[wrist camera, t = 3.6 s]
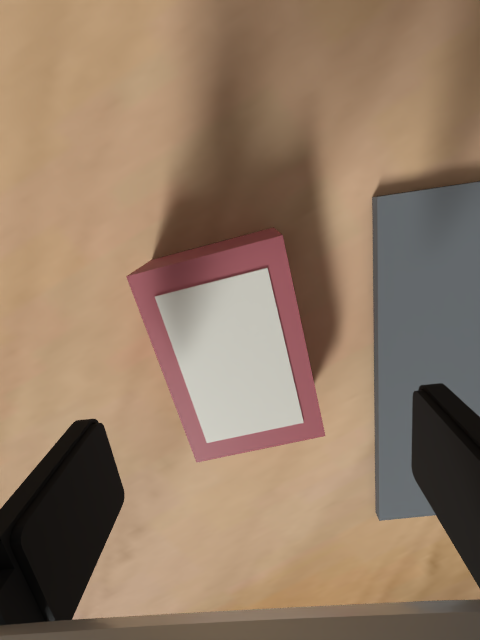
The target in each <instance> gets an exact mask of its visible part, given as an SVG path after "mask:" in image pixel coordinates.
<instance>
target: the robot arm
mask: <svg viewBox="0 0 480 640" xmlns="http://www.w3.org/2000/svg"><path fill="white" fill-rule="evenodd" d="M411 467H412V473H413V476H414V479H415V481H416V482H417V484H418V486H419V487H420V489H421V491H422V492H423V494H424V496H425V497H426V499H427V501H428V502H429V504H430V506H431V507H432V509H433V511H434V513H435V514H436V516H437V518H438V519H439V521H440V523H441V524H442V526H443V528H444V529H445V531H446V533H447V534H448V536H449V538H450V539H451V541H452V543H453V544H454V546H455V548H456V549H457V551H458V553H459V554H460V556H461V558H462V559H463V561H464V563H465V564H466V566H467V568H468V570H469V571H470V573H471V575H472V576H473V578H474V580H475V581H476V583H477V585H478V586H479V588H480V417H479V416H478V415H477V414H476V413H475V412H474V411H473V410H472V409H471V408H469V407H468V406H467V405H466V404H465V403H464V402H463V401H462V400H461V399H460V398H459V397H457V396H456V395H455V394H454V393H453V392H452V391H451V390H450V389H449V388H448V387H447V386H445V385H444V384H443V383H437V384H428V385H421V386H419V389H418V391H414V392H413V403H412V460H411ZM123 502H124V489H123V486H122V483H121V479H120V476H119V473H118V470H117V467H116V463H115V460H114V457H113V454H112V450H111V447H110V444H109V441H108V438H107V434H106V431H105V428H104V425H103V424H102V423H99V422H98V421H97V420H96V419H87V420H78V421H75V422H74V423H73V424H72V425H71V426H70V427H69V428H68V430H67V431H66V432H65V433H64V434H63V436H62V437H61V438H60V439H59V440H58V441H57V443H56V444H55V445H54V446H53V447H52V449H51V450H50V451H49V452H48V453H47V455H46V456H45V457H44V458H43V459H42V460H41V462H40V463H39V464H38V465H37V466H36V468H35V469H34V470H33V471H32V472H31V473H30V475H29V476H28V477H27V478H26V479H25V481H24V482H23V483H22V484H21V485H20V486H19V488H18V489H17V490H16V491H15V492H14V494H13V495H12V496H11V497H10V498H9V500H8V501H7V502H6V503H5V504H4V505H3V507H2V508H1V509H0V640H480V600H444V601H417V602H396V603H375V604H353V605H332V606H311V607H291V608H272V609H253V610H234V611H216V612H197V613H179V614H161V615H145V616H128V617H111V618H95V619H78V620H72V618H73V616H74V613H75V611H76V609H77V606H78V604H79V602H80V600H81V597H82V595H83V593H84V591H85V588H86V586H87V584H88V582H89V579H90V577H91V575H92V573H93V570H94V568H95V566H96V564H97V561H98V559H99V557H100V555H101V552H102V550H103V548H104V546H105V543H106V541H107V539H108V537H109V534H110V532H111V530H112V528H113V525H114V523H115V521H116V519H117V516H118V514H119V512H120V510H121V507H122V505H123Z"/></svg>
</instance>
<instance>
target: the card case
mask: <svg viewBox="0 0 480 640" xmlns="http://www.w3.org/2000/svg"><path fill="white" fill-rule="evenodd" d="M126 277H127V279H128V282H129V285H130V287H131V290H132V293H133V295H134V298H135V301H136V303H137V306H138V308H139V311H140V314H141V316H142V319H143V322H144V324H145V327H146V330H147V332H148V335H149V338H150V340H151V343H152V346H153V348H154V351H155V354H156V356H157V359H158V361H159V364H160V367H161V369H162V372H163V375H164V377H165V380H166V383H167V385H168V388H169V391H170V393H171V396H172V399H173V401H174V404H175V406H176V409H177V412H178V414H179V417H180V420H181V422H182V425H183V428H184V430H185V433H186V436H187V438H188V441H189V444H190V446H191V449H192V451H193V454H194V457H195V459H196V462H201V461H206V460H211V459H216V458H221V457H225V456H230V455H235V454H240V453H245V452H250V451H255V450H259V449H264V448H269V447H274V446H279V445H284V444H289V443H293V442H298V441H303V440H308V439H313V438H318V437H323V436H325V432H324V427H323V423H322V418H321V413H320V408H319V404H318V399H317V394H316V390H315V385H314V380H313V376H312V371H311V366H310V361H309V357H308V352H307V347H306V343H305V338H304V333H303V329H302V324H301V319H300V314H299V310H298V305H297V300H296V296H295V291H294V286H293V282H292V277H291V272H290V267H289V263H288V258H287V253H286V249H285V244H284V239H283V235H282V234H281V233H279V232H278V231H277V230H276V229H275V228H274V227H273V228H270V229H266V230H262V231H258V232H255V233H251V234H247V235H243V236H240V237H236V238H232V239H228V240H224V241H221V242H217V243H213V244H209V245H206V246H202V247H198V248H194V249H191V250H187V251H183V252H179V253H176V254H172V255H168V256H164V257H161V258H157V259H153V260H151V261H149V262H148V263H146V264H145V265H143V266H142V267H140V268H139V269H137V270H135V271H134V272H132V273H131V274H129V275H128V276H126Z"/></svg>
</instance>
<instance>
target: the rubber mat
mask: <svg viewBox="0 0 480 640" xmlns="http://www.w3.org/2000/svg"><path fill="white" fill-rule="evenodd" d="M372 207H373V302H374V398H375V493H376V514H377V516H378V519H379V521H381V520H391V519H401V518H411V517H421V516H432V515H436V514H435V513H434V511H433V509H432V507H431V506H430V504H429V502H428V501H427V499H426V497H425V496H424V494H423V492H422V491H421V489H420V487H419V486H418V484H417V482H416V481H415V479H414V476H413V473H412V467H411V460H412V403H413V392H414V391H418V389H419V386H421V385H428V384H437V383H443V384H444V385H445V386H447V387H448V388H449V389H450V390H451V391H452V392H453V393H454V394H455V395H456V396H457V397H459V398H460V399H461V400H462V401H463V402H464V403H465V404H466V405H467V406H468V407H469V408H471V409H472V410H473V411H474V412H475V413H476V414H477V415H478V416H479V417H480V181H478V182H471V183H465V184H458V185H451V186H444V187H438V188H431V189H424V190H417V191H411V192H404V193H397V194H390V195H384V196H377V197H372Z"/></svg>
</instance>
